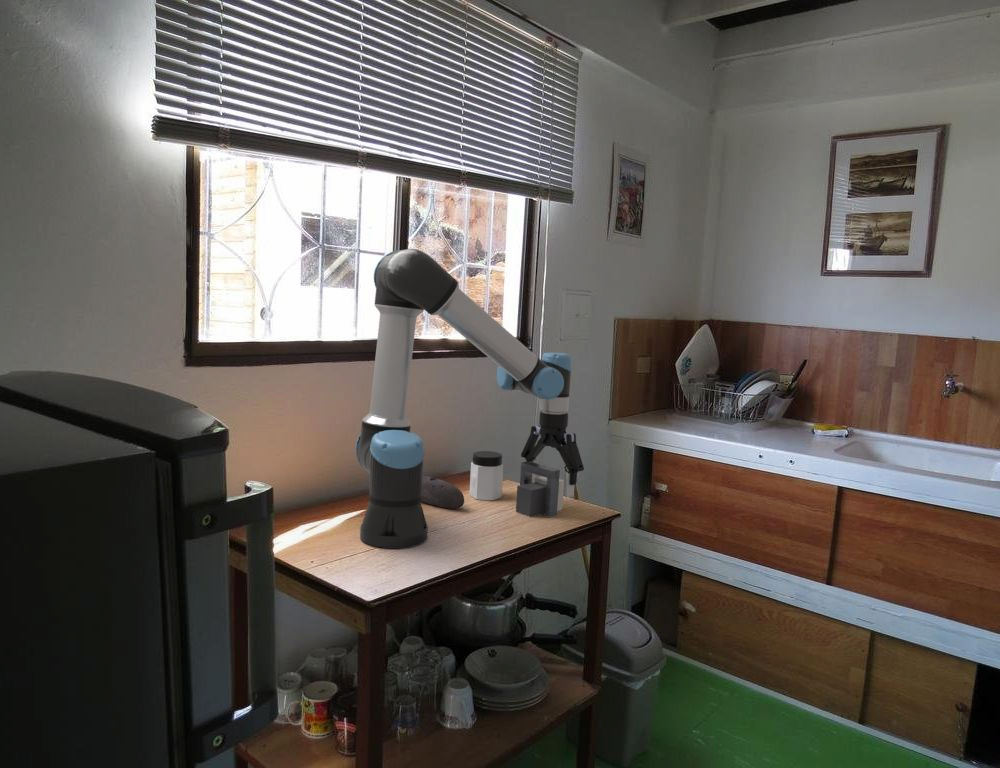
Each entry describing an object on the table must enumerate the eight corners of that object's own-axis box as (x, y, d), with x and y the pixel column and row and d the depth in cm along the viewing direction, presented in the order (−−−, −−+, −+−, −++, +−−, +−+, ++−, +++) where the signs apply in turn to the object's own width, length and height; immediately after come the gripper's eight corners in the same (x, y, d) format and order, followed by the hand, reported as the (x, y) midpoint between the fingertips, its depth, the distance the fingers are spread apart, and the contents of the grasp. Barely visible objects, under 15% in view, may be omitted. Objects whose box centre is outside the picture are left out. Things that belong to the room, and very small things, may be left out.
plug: (531, 517, 180) (532, 486, 179) (514, 511, 185) (516, 481, 184) (565, 508, 190) (567, 479, 189) (549, 503, 194) (551, 474, 193)
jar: (465, 493, 199) (467, 451, 197) (490, 490, 203) (493, 449, 201) (479, 502, 191) (481, 458, 190) (505, 499, 195) (508, 456, 193)
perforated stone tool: (469, 510, 184) (470, 484, 183) (456, 514, 180) (457, 487, 179) (425, 498, 192) (426, 473, 191) (412, 502, 188) (413, 476, 187)
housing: (549, 517, 181) (552, 471, 180) (518, 506, 189) (521, 462, 188) (556, 515, 183) (559, 469, 182) (526, 504, 191) (529, 461, 190)
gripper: (600, 417, 179) (595, 499, 182) (529, 403, 197) (526, 478, 200) (581, 420, 174) (576, 504, 177) (510, 406, 192) (507, 482, 195)
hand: (549, 490), depth 188 cm, fingers open, 13 cm apart
